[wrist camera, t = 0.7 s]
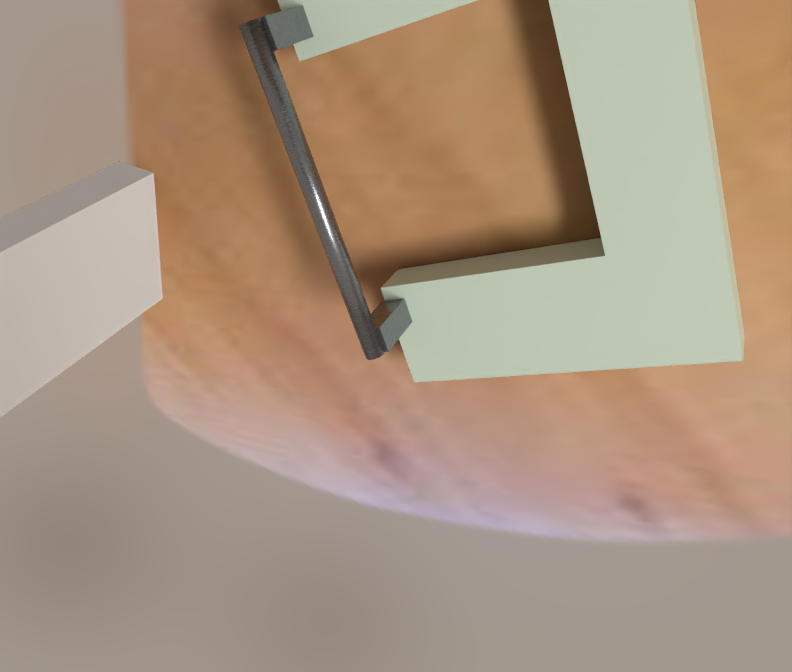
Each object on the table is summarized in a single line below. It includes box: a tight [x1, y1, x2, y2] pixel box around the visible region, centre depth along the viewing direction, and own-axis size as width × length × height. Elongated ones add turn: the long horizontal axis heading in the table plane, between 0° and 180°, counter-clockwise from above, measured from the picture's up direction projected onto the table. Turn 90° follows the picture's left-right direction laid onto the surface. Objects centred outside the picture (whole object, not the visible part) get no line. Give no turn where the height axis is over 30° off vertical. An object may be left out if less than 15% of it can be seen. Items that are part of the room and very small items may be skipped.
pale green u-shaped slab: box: [278, 0, 744, 382], centre depth 34 cm, size 24×17×2 cm
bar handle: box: [239, 5, 412, 360], centre depth 35 cm, size 16×1×4 cm, turn 20°
